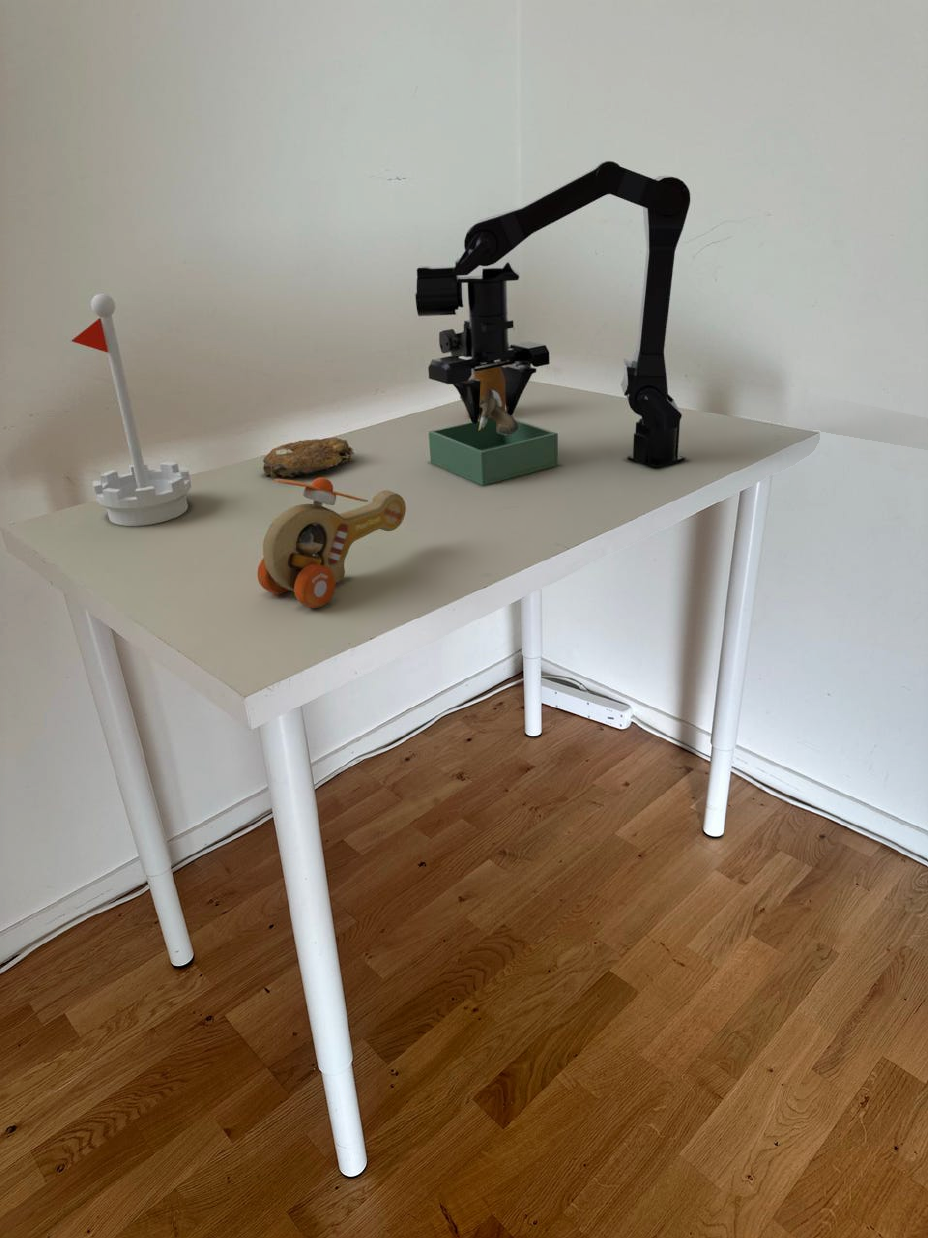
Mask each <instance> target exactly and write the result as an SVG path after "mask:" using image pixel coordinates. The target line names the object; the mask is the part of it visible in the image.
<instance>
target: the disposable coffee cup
mask: <svg viewBox="0 0 928 1238" xmlns="http://www.w3.org/2000/svg"><path fill="white" fill-rule="evenodd" d="M459 358H461V359H465V360H468V359H471V357H464V356H461V357H459ZM495 361H500V359H499V360H495ZM485 363H486V362H484V363H481V364H485ZM474 374H475V380H479V381H481V386H480V403H481V401H482V399H483V396H484V397H485V403H486V402H487V396H488V389H491V390H494V391H496V392H497V393H498V394H499V396H500V399H501V402H502V407H500V408H501V409H502V410H503V411H505V412H506V403H505V378H504V375H503V373H502V371H501V368H500V367H495V368H490V369H485V370H480V371H476V372H474ZM478 420H481V419H480V417H479V418H478Z"/></svg>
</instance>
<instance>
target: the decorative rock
mask: <svg viewBox="0 0 928 1238" xmlns="http://www.w3.org/2000/svg"><path fill="white" fill-rule="evenodd" d="M355 454H356V453H355V452H354V449H353V447H350V445H349V443H348V440H347V439H341V438H338V437H327V438H326V437H325V438H321V439H319V438H318V439H317V438H314V439H304V440H298V441H294V442H288V443H285V444H281V445H279V446H277V447H275V448H272V449H271V450H270V451H269V453H268V454H267V455H265V456H264V457H263V460H262V462H263V467H262V468H263V471H264V476H265V477H267V476H270V477H271V479H277V476H278V475H279V476H281V477H282V478H285V477H289V478H295V476H301V475H302V474H304V475H306V476H308V475H309V474H314V473H315V472H317V471H320V470H321V471H327V470H329V468H333V467H337V466H338V465H342V464H345V463H347V462H348V461H350V460H351V458H352V457H353V455H355Z"/></svg>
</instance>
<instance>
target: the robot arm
mask: <svg viewBox="0 0 928 1238" xmlns="http://www.w3.org/2000/svg"><path fill="white" fill-rule="evenodd" d="M607 195H611V196H614V197H617V198H619V199H622V200H625V201H627V202H630V203H632V204H635V205H637V206H639V207H642V216H643V217H642V218H643V228H644V236H645V245H646V252H645V260H644V261H645V264H644V274H643V283H642V294H641V302H640V314H639V316H640V317H639V325H638V326H639V327H638V336H637V346H636V350H635V352H634V354H633V358H632V359H627V358H624V359H623V372H624V373H623V378H622V381H621V383H620V386H621V389H622V393H623V395H624V396H625V397H626V399H627V402H628V404H629V407H630V409H631V410H632V411H633V412H634V414H635V415H637V416H640V417H641V418H640V419H638V421H636V422H635V432H633V448H632V454H629V455H627V456H626V458H627V460H629V461H631V462H635V463H638V464H641V465H644V466H647V467H650V468H654V469H660V468H662V467H665V466H669V465H673V464H676V463H679V462H683V461H685V460H686V456H684V455H681V454H679V443H680V429H681V428H680V427H681V426H680V424H681V419H682V417H683V414H682V412H681V410H680V408H679V407H678V405H677V402H676V400H675V399H674V398H673V397H672V396H671V395H670V394H669V390H668V377H667V376H668V375H667V366H666V358H665V346H666V336H667V328H668V327H667V326H668V317H669V309H670V301H671V290H672V281H673V273H674V264H675V263H674V262H675V256H676V255H675V254H676V250H677V246H678V244H679V241H680V238H681V235H682V232H683V230H684V227H685V223H686V219H687V215H688V213H689V209H690V205H691V191H690V189H689V187H688V186H687V185H686V183H685V181H683V180H681V179H680V178H678V177H675V176H671V175H660V176H657V177H656V178H652V177H649V176H646V175H644V174H642V173H640V172H636V171H633V170H631V169H628V168H626V167H623V166H620V164H618V163H617V162H615V161H612V160H604V161H601V162H600V163H598V164H597V165H596V166H595V167H594V168H592V169H590V170H588V171H586V172H585V173H583V174H581V175H580V176H577V177H575V178H574V179H572V180H570V181H568V182H566V183H564V184H563V185H560V186H559V187H557V188H555V189H552V190H551V191H549V192H548V193H545V194H544V195H542V196H540V197H538V198H536V199H534V200H533V201H531V202H529V203H527V204H525V205H523V206H521V207H518V208H515V209H511V210H508V211H504V212H501V213H497V214H493V215H491V216H489V217H488V216H487V217H485V218H482V219H479V220H477V221H476V222H475V223H473V224H472V225H471V227H470V228H469V229H468V230H467V232H466V234H465V237H464V240H463V241H464V242H463V248H464V252H463V254H462V255H461V257H459V258H457V259H456V260H455V261H454V264H455V266H453V265H452V266H435V267H432V266H418V267H417V269H416V292H415V295H414V297H415V307H416V313H417V316H418V317H441V316H457V315H458V311H459V309H460V308H465V285H464V284H467V301H468V304H467V305H468V319H467V320H464V323H463V330H462V331H461V332H458V333H457V332H456V331H455V330H454V328H450V329H445V330H444V329H443V330H442V331H439V332H438V344H439V349H440V352H441V353H442V354H449V353H450V355H449V356H444V357H438V358H433V359H431V361H430V363H429V365H428V367H427V368H428V369H427V370H428V371H427V372H428V379H429V380H432V381H436V382H439V383H442V384H446V385H452V386H454V388H455V389H456V390H457V392H458V394H459V397H460V396H461V398H462V400H463V401H462V400H461V401H462V403H463V402H464V403H463V404H464V407H465V410H466V412H467V414H468V417H469V419H470V422H472V423H474V424H477V423H478V420H479V419H478V418H479V405H480V386H481V381H479V380H475V374H474V372H476V371H480V370H485V369H490V368H495V367H500V368H501V371H502V373H503V375H504V378H505V403H506V405H505V412H507V413H508V414H510V415H511V416H513V415H514V413H515V410H516V408H517V406H518V404H519V402H520V399H521V397H522V394H523V392H524V390H525V388H526V386H527V385H528V383H529V381H530V379H531V377H532V376H533V374H536V373H537V371H538V370H537V368H538V367H543V366H548V365H550V364H551V352H550V349H549V348H548V346H547V345H546V344H543V343H538V342H533V341H523V342H517V343H511V344H510V343H509V342H510V339H509V338H510V337H509V336H510V335H509V330H510V329H514V319H513V320H512V319H509V303H508V302H509V301H508V300H509V299H508V282H509V281H510V282H512V281H518V280H520V275H521V274H520V272H519V271H517V270H516V269H515V268H514V267H513V266H512V264H511V262H510V261H508V260H507V261H506V262H505V264H504V265H503V266H502V267H489V266H492V265H494V264H496V263H497V262H499V261H500V260H502V259H503V258H504V257H505V256H507V255H508V254H509V253H510V252H511V251H513V250H514V249H516V248H517V247H518V246H519V245H520V244H522V242H524V241H525V240H526V239H527V238H529V237H530V236H531V235H533V234H534V233H536V232H538V231H540V230H542V229H543V228H545V227H548V226H549V225H551V224H553V223H556V222H557V221H559V220H562V219H563V218H565V217H567V216H569V215H570V214H572V213H574V212H576V211H578V210H580V209H582V208H583V207H586V206H588V205H589V204H591V203H594V202H595V201H597V200H599V199H601V198H603V197H604V196H607ZM479 266H480V267H484V268H482V272H481V274H478V275H469V274H472V272H473V271H474V270H476V269H477V268H478V267H479ZM485 267H486V268H485ZM461 356H464V357H471V359H468V360H465V359H461V358H459V357H461ZM499 359H500V361H495V360H499ZM484 362H486V363H485V364H481V363H484ZM532 366H533V367H532ZM461 398H460V399H461Z"/></svg>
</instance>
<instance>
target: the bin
mask: <svg viewBox="0 0 928 1238" xmlns="http://www.w3.org/2000/svg"><path fill="white" fill-rule="evenodd" d="M480 421H481V419H478V423H477V424H474V423H472V422H471V421H469V422H464V423H460V424H455V425H452V426H447V427H442V428H438V429H434V430H430V431H428V441H429V442H428V443H429V456H430V457H429V458H430V463H431V464H433V465H434V466H438V467H440V468H442V469H445V470H446V471H449V472H451V473H452V474H453V473H454V474H456V475H458V476H460V477H462V478H465V479H467V480H468V481H471V482H473V483H476V484H478V485H479V486H480V485H481V486H486V485H490V484H493V483H498V482H502V481H505V480H509V479H512V478H516V477H520V476H523V475H527V474H530V473H534V472H539V471H542V470H546V469H549V468H554V467H556V466H557V467H558V463H559V458H558V455H559V453H558V451H559V448H558V447H559V445H558V444H559V440H558V439H559V437H558V436H559V434H558V433H557V432H555V431H552V430H548V429H545V428H542V427H539V426H537V425H534V424H531V423H527V422H524V421H522V420H518V419H515V421H516V422H517V425H518V430H517V432H515V433H514V434H513V433H512V434H511V435H507V436H506V435H501V434H498V433H497V429H496V428H497V425H496V423H495V420H494V419H489V420H488V421H487V423H486V425H485V427H484V428H482V429H481V430H478V429H479V427H480Z"/></svg>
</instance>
